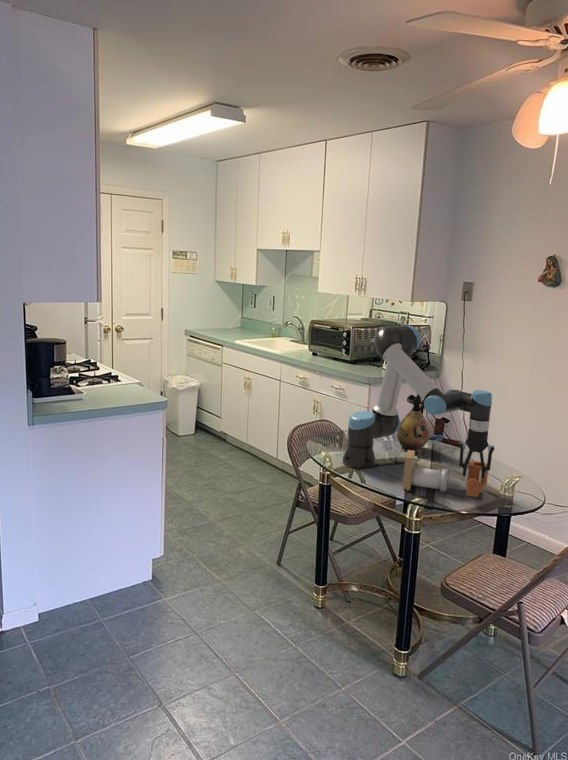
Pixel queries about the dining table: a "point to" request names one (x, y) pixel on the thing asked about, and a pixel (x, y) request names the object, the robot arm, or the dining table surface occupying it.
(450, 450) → the dining table surface
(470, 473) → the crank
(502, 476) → the dining table surface
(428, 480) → the pipe stub
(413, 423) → the ceramic jug
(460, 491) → the gasket mat
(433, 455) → the dining table surface
